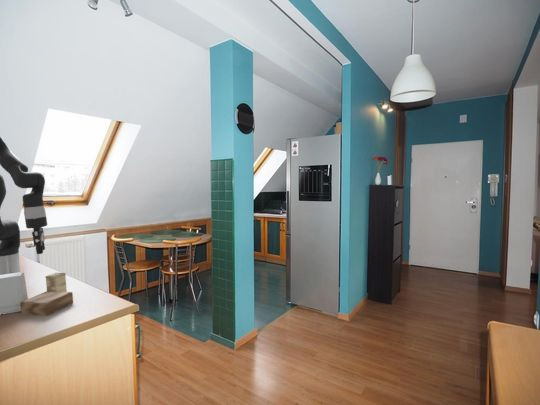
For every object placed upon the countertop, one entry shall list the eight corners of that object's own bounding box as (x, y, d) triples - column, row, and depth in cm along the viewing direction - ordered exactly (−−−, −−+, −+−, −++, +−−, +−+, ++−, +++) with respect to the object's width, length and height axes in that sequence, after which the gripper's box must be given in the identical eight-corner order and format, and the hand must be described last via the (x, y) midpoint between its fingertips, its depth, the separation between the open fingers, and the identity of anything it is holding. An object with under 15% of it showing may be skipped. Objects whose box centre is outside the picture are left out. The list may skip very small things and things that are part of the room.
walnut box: (21, 314, 115) (20, 302, 115) (48, 301, 127) (47, 290, 127) (47, 316, 113) (46, 303, 113) (73, 303, 125) (72, 291, 125)
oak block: (47, 298, 130) (45, 276, 129) (57, 293, 135) (55, 272, 134) (57, 299, 129) (55, 276, 128) (67, 294, 134) (65, 273, 133)
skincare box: (29, 305, 123) (25, 270, 122) (24, 311, 118) (21, 275, 116) (3, 309, 119) (-1, 274, 118) (-3, 316, 114) (-7, 278, 113)
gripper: (27, 216, 136) (32, 250, 138) (22, 219, 124) (28, 256, 126) (47, 214, 140) (52, 247, 142) (44, 216, 128) (50, 253, 130)
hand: (41, 251), depth 134 cm, fingers open, 8 cm apart
